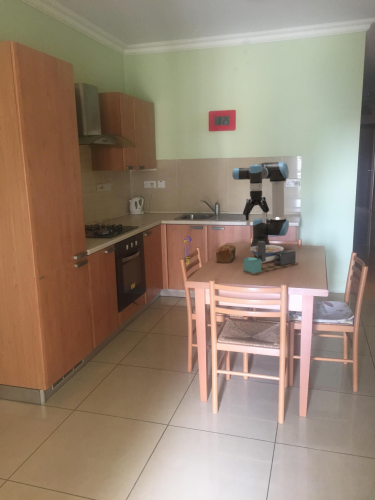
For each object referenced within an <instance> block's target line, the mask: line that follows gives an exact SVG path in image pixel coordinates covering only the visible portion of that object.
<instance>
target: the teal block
mask: <svg viewBox="0 0 375 500" xmlns="http://www.w3.org/2000/svg"><path fill="white" fill-rule="evenodd" d="M261 266H262V264H261V259H257V257H252V256H249V257H244V258H243V270H244V271H248V272H251V273H257V272H261Z"/></svg>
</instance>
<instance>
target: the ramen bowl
mask: <svg viewBox="0 0 375 500" xmlns="http://www.w3.org/2000/svg"><path fill="white" fill-rule="evenodd" d="M249 249H250V251H251V253H252V254H253V255H254V256H255V258H257V245H256V246H253V247H251V246H250V248H249ZM281 251H285V248H284V247H283V246H280V245H274V244H270V245H266V257H270V256H274V253H276V252H281Z"/></svg>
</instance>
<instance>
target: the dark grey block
mask: <svg viewBox="0 0 375 500" xmlns="http://www.w3.org/2000/svg"><path fill="white" fill-rule="evenodd" d="M275 255H280V260H276V261H273V264H275V265H278V266H284V265H288V264H292V263H295V262H296V261H297V260H296V259H297V258H296V255H297V251H295V250H291V249H286V250H283V251H281V252H276V253H274V256H275Z"/></svg>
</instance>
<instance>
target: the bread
mask: <svg viewBox="0 0 375 500" xmlns="http://www.w3.org/2000/svg"><path fill="white" fill-rule="evenodd" d="M215 255H216V256H215V257H216V262H218V263H222V264H224V263H226V264H227V263H231V262H233V260H234V259H235V257H236V246H235V245H232V244H224V245H221V246H219V247H218V248H217V251H216V254H215Z"/></svg>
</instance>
